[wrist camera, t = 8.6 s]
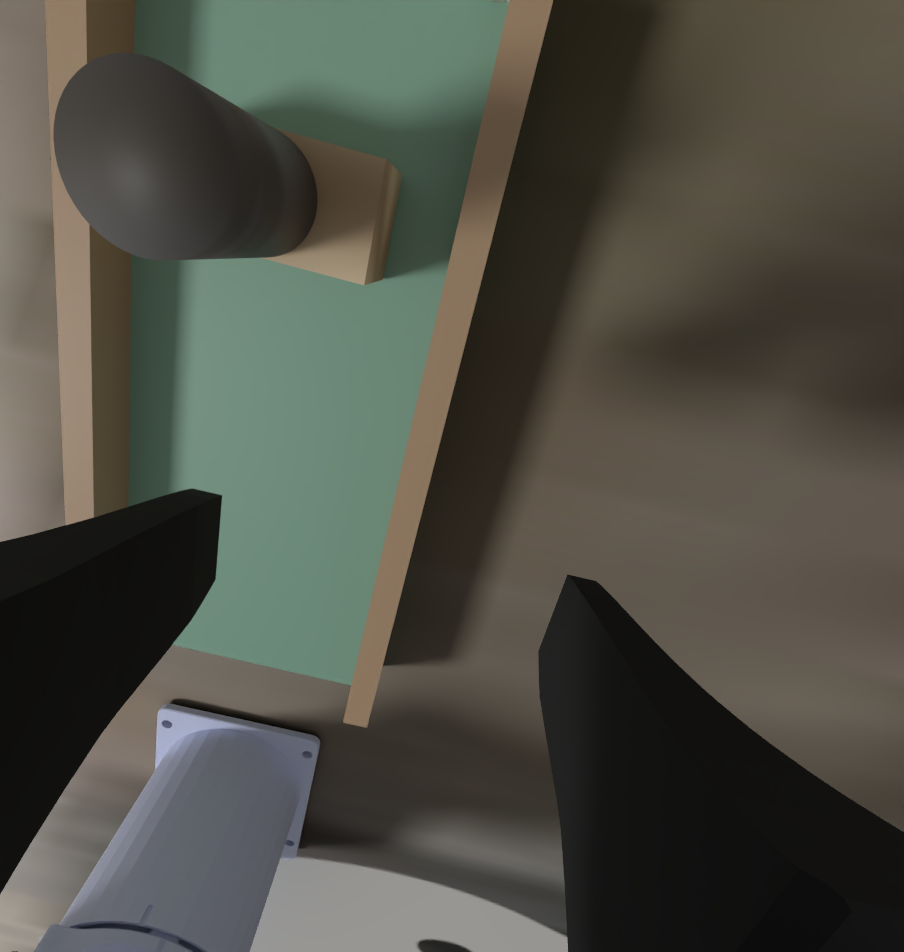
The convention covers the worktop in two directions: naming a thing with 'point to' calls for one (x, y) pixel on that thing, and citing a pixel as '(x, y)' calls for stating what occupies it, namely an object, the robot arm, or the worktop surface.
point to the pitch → (294, 313)
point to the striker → (215, 176)
